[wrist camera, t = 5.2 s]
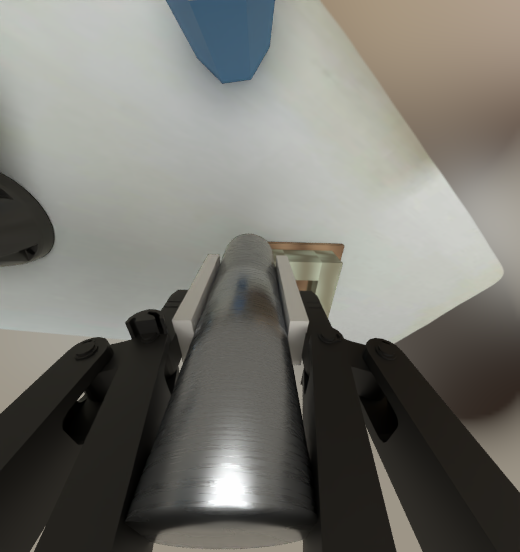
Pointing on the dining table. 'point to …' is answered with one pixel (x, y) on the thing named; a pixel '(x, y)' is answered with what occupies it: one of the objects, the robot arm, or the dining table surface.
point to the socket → (313, 267)
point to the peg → (231, 424)
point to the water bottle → (227, 34)
